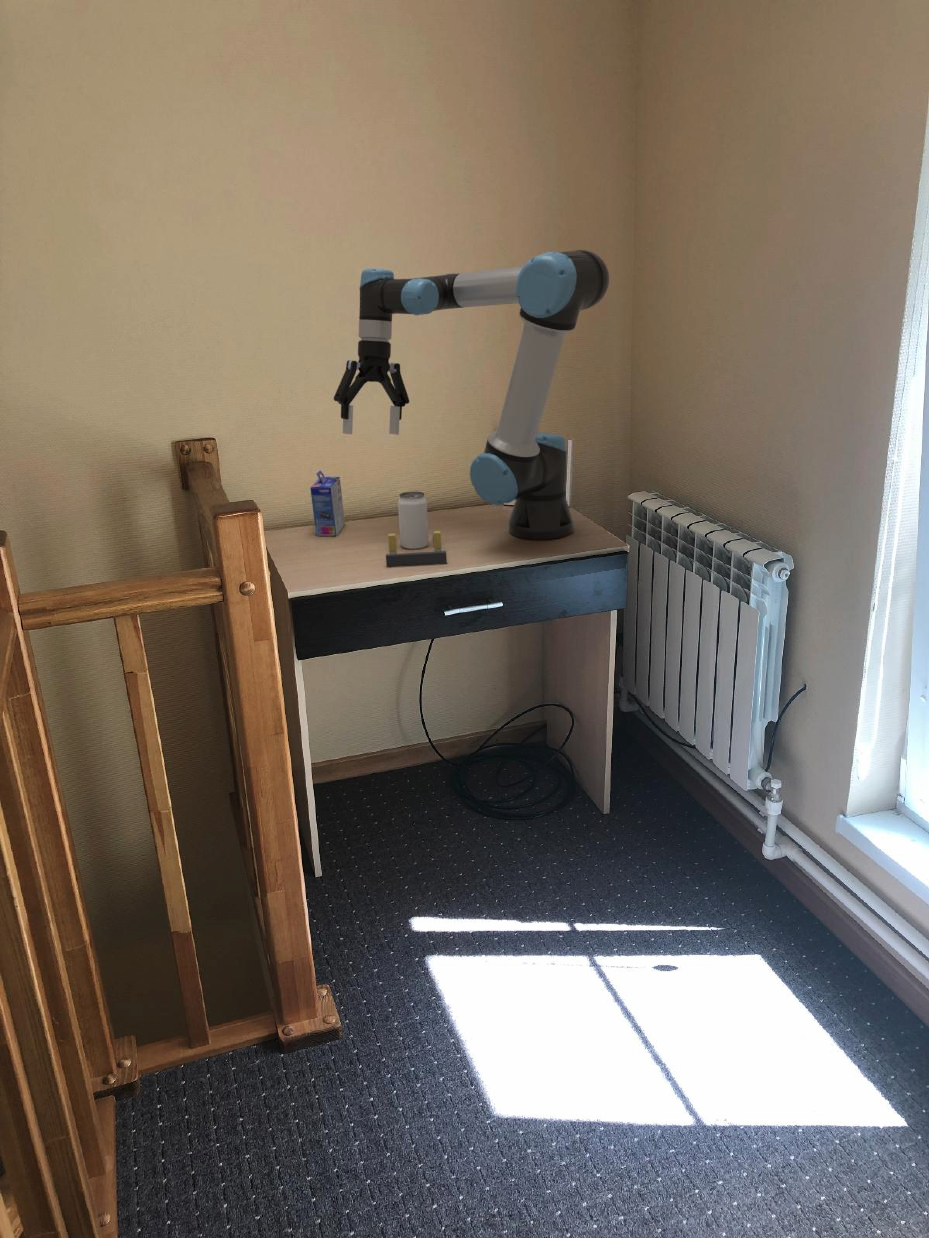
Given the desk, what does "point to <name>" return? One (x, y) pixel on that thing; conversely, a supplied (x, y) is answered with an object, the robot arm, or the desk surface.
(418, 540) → the can
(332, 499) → the ink cartridge box
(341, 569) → the desk surface
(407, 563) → the u-shaped rail frame
